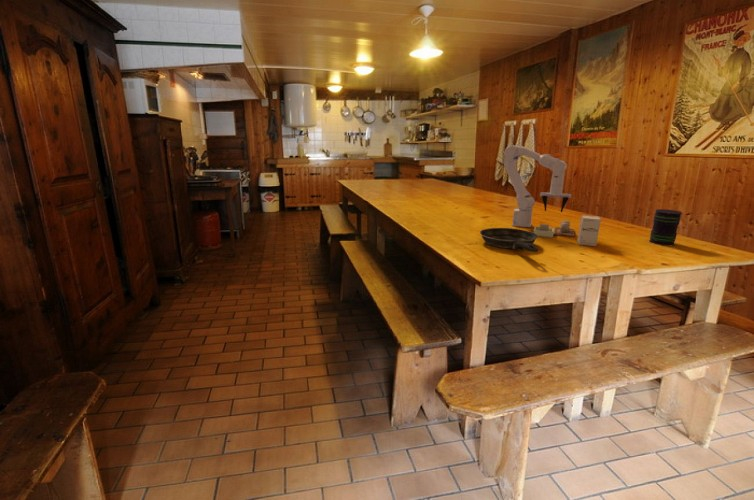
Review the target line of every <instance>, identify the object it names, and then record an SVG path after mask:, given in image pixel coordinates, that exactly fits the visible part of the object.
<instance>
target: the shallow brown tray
mask: <svg viewBox="0 0 754 500" xmlns="http://www.w3.org/2000/svg"><path fill="white" fill-rule="evenodd" d="M560 228H561V226H560V227H559V226H555V227H554V233H553V236H559V237H570V238H575V228H571V227H569V233H562V232H560Z"/></svg>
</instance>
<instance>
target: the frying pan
mask: <svg viewBox="0 0 754 500" xmlns="http://www.w3.org/2000/svg"><path fill="white" fill-rule="evenodd" d="M479 234H480V235H481V238H482V239H483V241H484V242H486V243H487V244H488V245H490V246H493V247H496V248H501V249H511V250H515V251H524V250H526V251H529V252H532V253H533V252H534V253H537V252H538V251H539V248H538V247H537V246H536V245H534V243H535V241H536V240H537V239H538V238H539V236H538V235H536V234H535V233H533V232H532V231H530V230H529V231H528V230H525V229H520V228H519V229H518V228H509V227H492V228H489V227H488V228H484V229H482V230H480V231H479Z"/></svg>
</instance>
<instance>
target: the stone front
mask: <svg viewBox="0 0 754 500" xmlns="http://www.w3.org/2000/svg"><path fill="white" fill-rule="evenodd" d="M539 227H540V231H548V228H550V225H549V224H547V223H541V224H540V225H539Z"/></svg>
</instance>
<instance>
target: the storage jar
mask: <svg viewBox="0 0 754 500" xmlns="http://www.w3.org/2000/svg"><path fill="white" fill-rule="evenodd" d="M681 216H682V212H681V211H678V210H674V209H672V210H671V209H655V213H654V216H653V220H652V221H653V224H652V229H651V230H650V235H649V243H650V244H653V243H654V245H659V246H665V245H667V246H668V245H672V246H674V245H675V242H676V239H677V235H678V227H679V224H680V221H681ZM667 246H666V247H667Z"/></svg>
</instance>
